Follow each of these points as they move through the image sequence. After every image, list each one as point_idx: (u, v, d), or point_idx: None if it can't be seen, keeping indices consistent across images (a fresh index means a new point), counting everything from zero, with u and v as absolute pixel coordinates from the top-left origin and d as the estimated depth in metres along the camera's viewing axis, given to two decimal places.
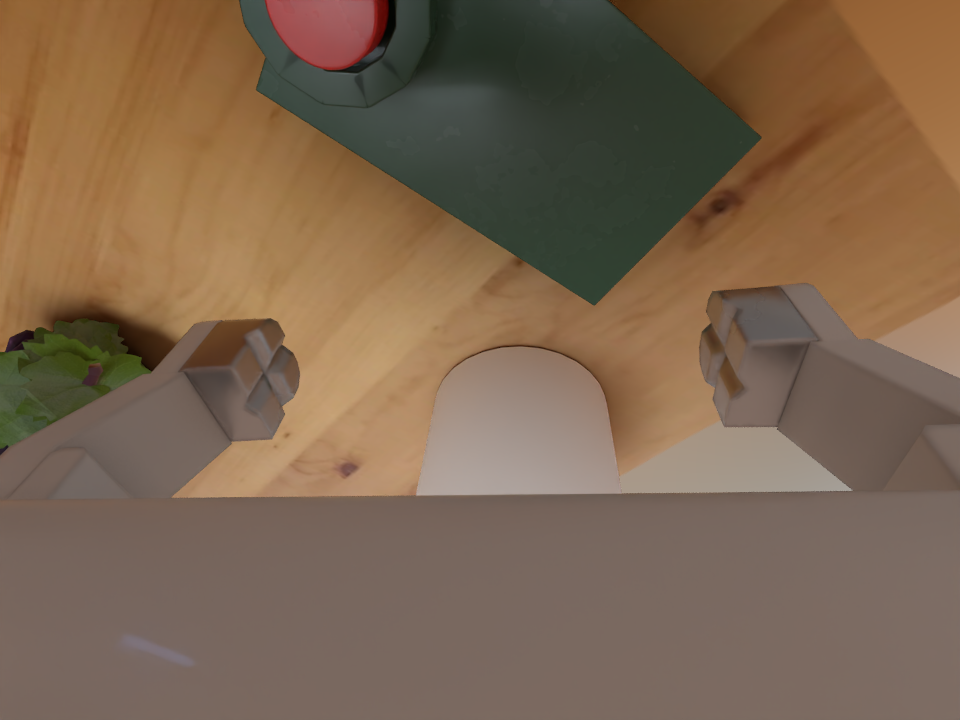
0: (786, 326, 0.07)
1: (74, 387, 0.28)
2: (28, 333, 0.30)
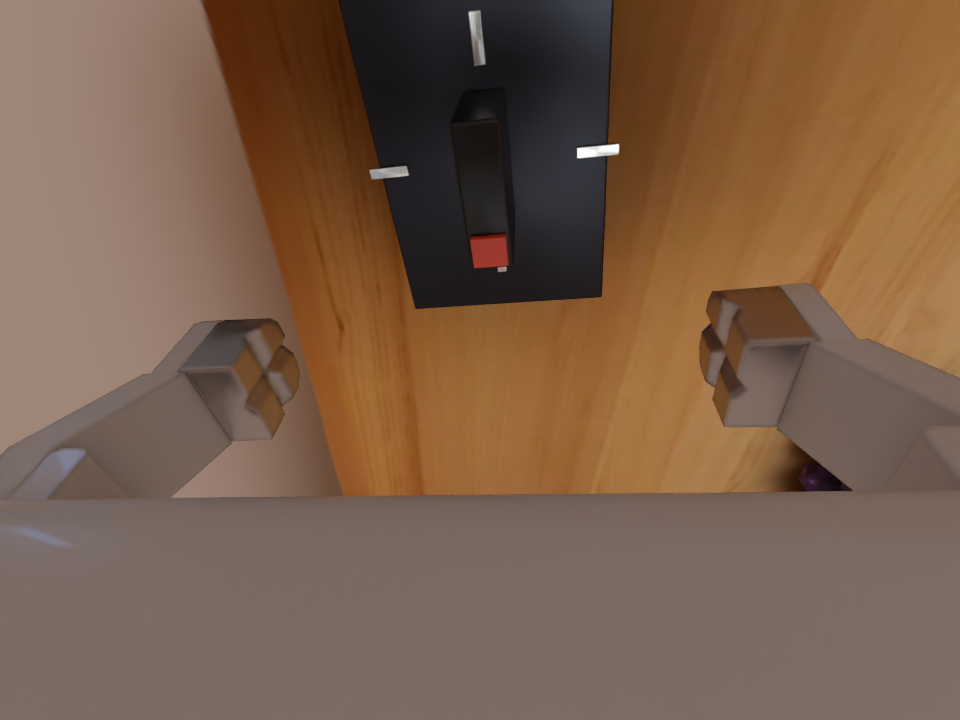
0: (786, 326, 0.07)
1: None
2: None
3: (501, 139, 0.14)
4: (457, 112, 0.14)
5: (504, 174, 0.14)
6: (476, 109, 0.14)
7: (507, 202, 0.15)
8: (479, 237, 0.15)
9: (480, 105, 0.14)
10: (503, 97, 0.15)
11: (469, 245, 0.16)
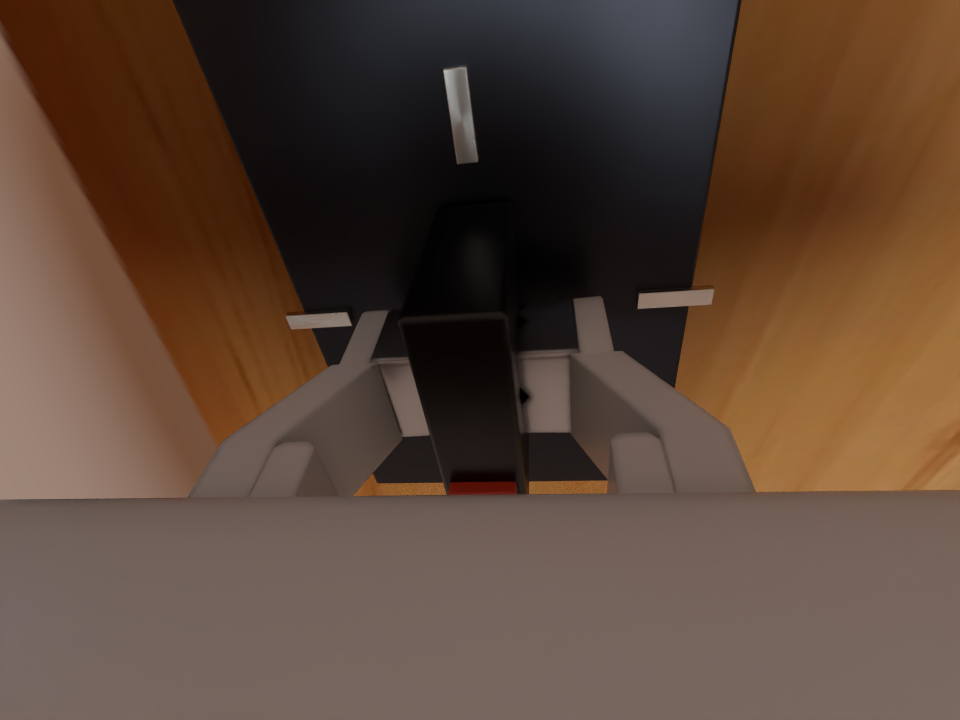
0: (558, 338, 0.08)
1: None
2: None
3: (508, 347, 0.06)
4: (419, 275, 0.07)
5: (514, 400, 0.07)
6: (457, 270, 0.07)
7: (519, 438, 0.08)
8: (465, 487, 0.08)
9: (466, 256, 0.07)
10: (511, 228, 0.08)
11: (448, 491, 0.08)
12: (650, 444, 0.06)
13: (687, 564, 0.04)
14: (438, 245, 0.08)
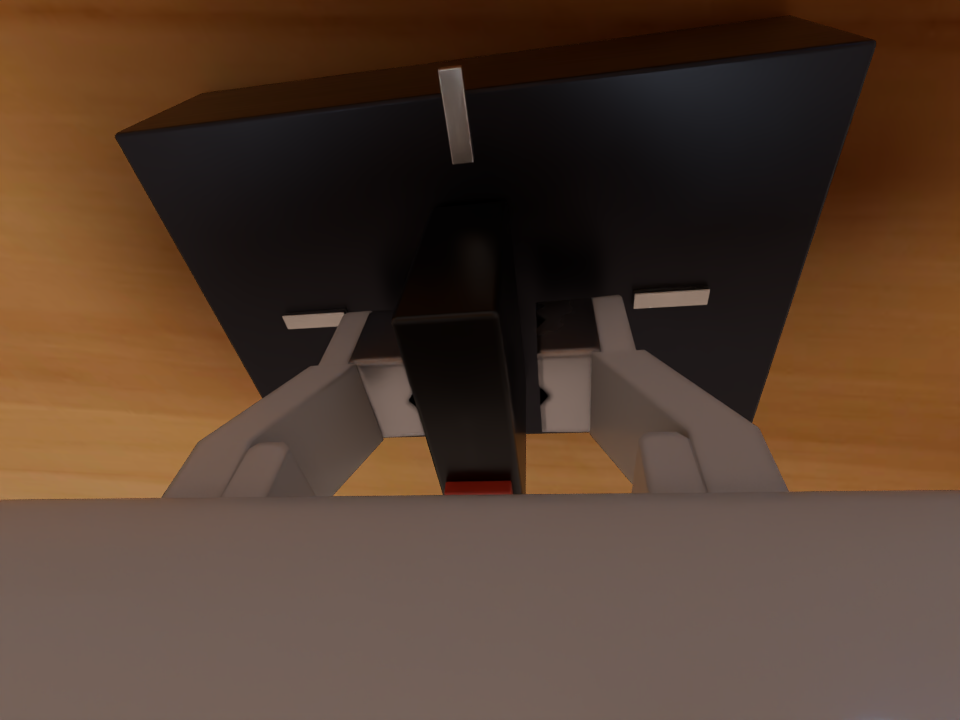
0: (578, 337, 0.08)
1: None
2: None
3: (501, 346, 0.06)
4: (413, 275, 0.07)
5: (508, 400, 0.07)
6: (451, 270, 0.07)
7: (514, 437, 0.08)
8: (461, 486, 0.08)
9: (460, 255, 0.07)
10: (506, 228, 0.08)
11: (444, 491, 0.08)
12: (679, 443, 0.06)
13: (687, 564, 0.04)
14: (432, 245, 0.08)
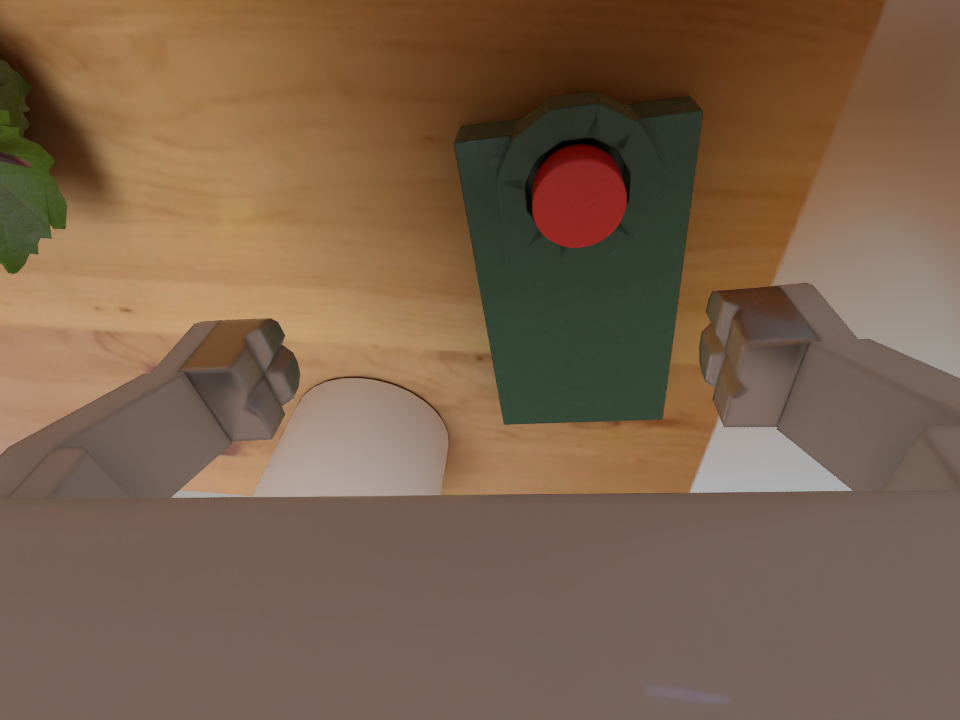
0: (786, 326, 0.07)
1: None
2: None
3: None
4: None
5: None
6: None
7: None
8: None
9: None
10: None
11: None
12: None
13: (687, 564, 0.04)
14: None
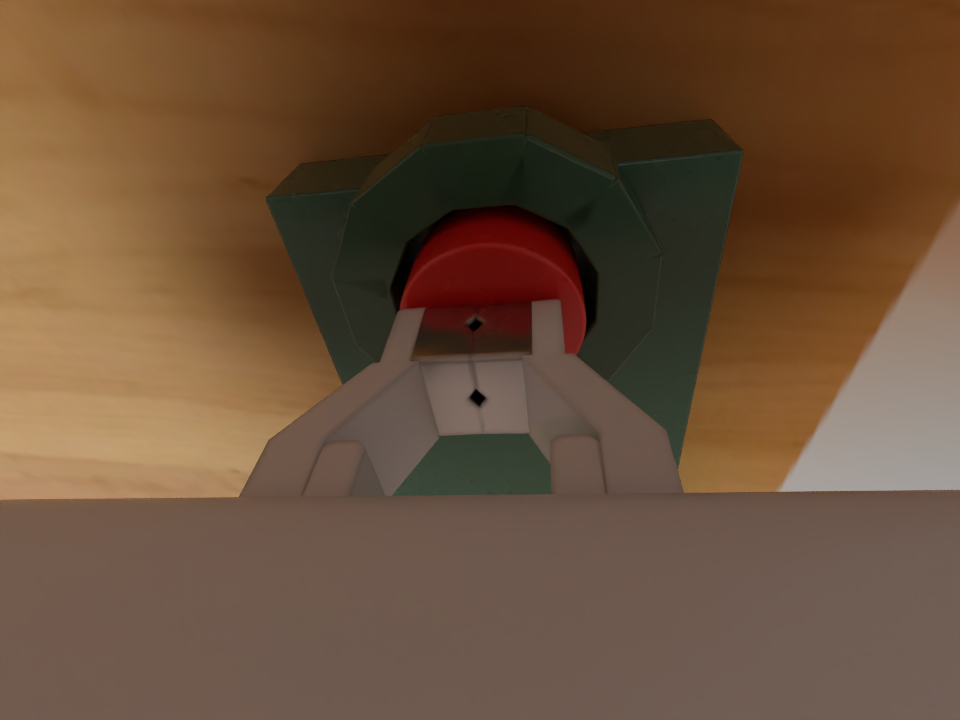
0: (512, 340, 0.08)
1: None
2: None
3: None
4: None
5: None
6: None
7: None
8: None
9: None
10: None
11: None
12: (588, 446, 0.06)
13: (687, 564, 0.04)
14: None
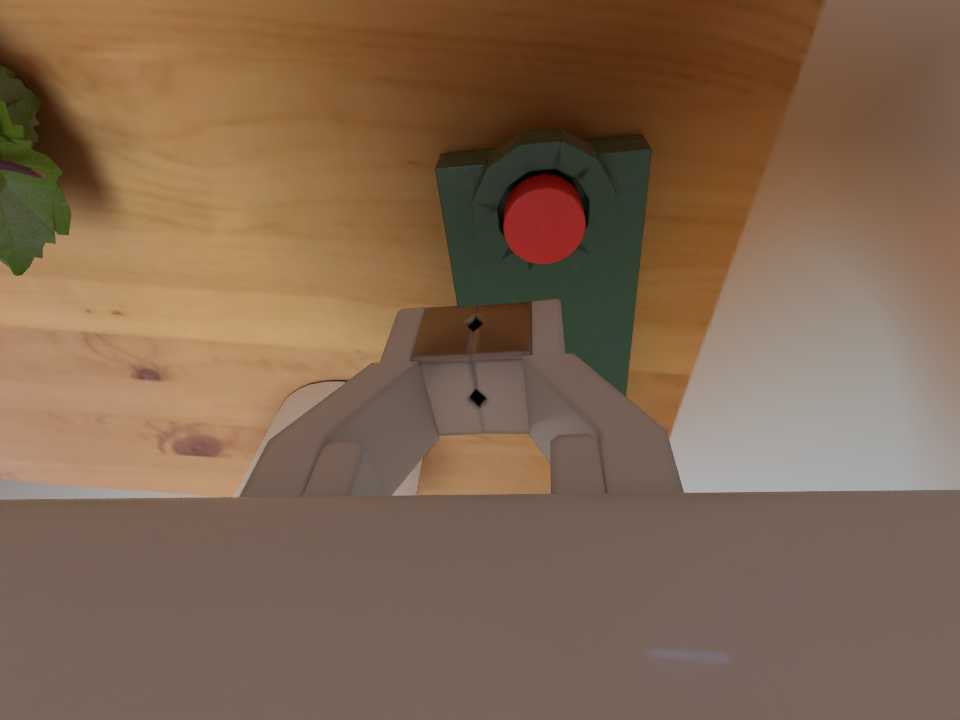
0: (512, 340, 0.08)
1: None
2: None
3: None
4: None
5: None
6: None
7: None
8: None
9: None
10: None
11: None
12: (587, 446, 0.06)
13: (687, 564, 0.04)
14: None
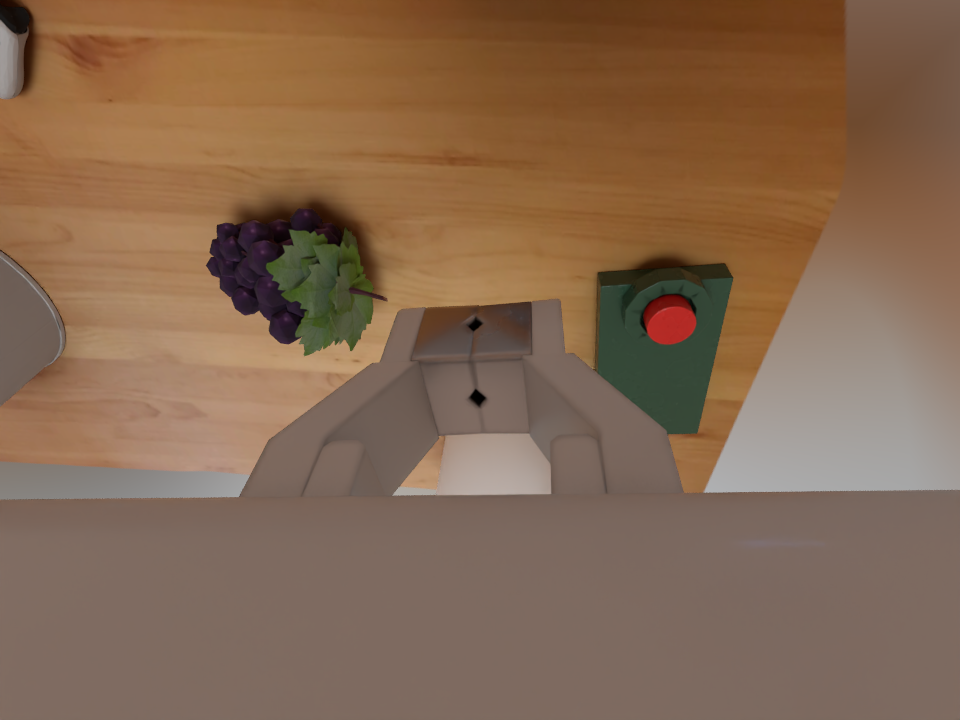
0: (512, 340, 0.08)
1: (346, 290, 0.37)
2: (319, 217, 0.37)
3: None
4: None
5: None
6: None
7: None
8: None
9: None
10: None
11: None
12: (588, 445, 0.06)
13: (687, 564, 0.04)
14: None
